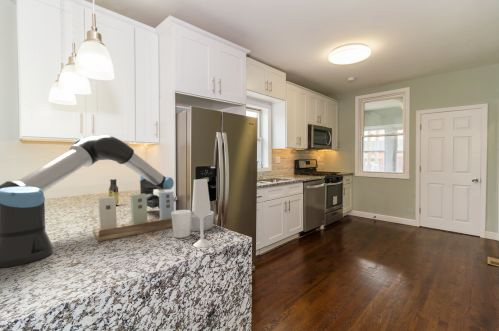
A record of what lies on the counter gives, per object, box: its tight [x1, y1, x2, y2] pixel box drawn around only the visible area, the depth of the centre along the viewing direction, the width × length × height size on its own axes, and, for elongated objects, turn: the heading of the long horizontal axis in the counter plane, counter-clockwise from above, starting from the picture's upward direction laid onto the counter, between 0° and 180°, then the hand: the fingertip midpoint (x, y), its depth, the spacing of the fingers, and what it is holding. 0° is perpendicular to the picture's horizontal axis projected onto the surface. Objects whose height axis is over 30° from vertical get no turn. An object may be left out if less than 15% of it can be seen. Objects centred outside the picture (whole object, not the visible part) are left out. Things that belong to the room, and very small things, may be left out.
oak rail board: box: [92, 217, 173, 242], centre depth 112 cm, size 16×36×4 cm, turn 129°
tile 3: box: [158, 190, 175, 220], centre depth 121 cm, size 4×6×14 cm
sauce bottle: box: [108, 178, 120, 205], centre depth 175 cm, size 7×6×20 cm
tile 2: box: [130, 193, 148, 225], centre depth 114 cm, size 4×6×14 cm
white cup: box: [171, 209, 192, 239], centre depth 100 cm, size 8×8×10 cm
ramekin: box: [190, 210, 215, 232], centre depth 111 cm, size 13×13×7 cm
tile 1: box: [98, 196, 118, 230], centre depth 105 cm, size 4×6×14 cm
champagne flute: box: [191, 178, 212, 248], centre depth 88 cm, size 7×7×24 cm
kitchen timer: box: [153, 189, 166, 197], centre depth 180 cm, size 14×14×15 cm
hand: (166, 205), depth 124 cm, fingers closed
